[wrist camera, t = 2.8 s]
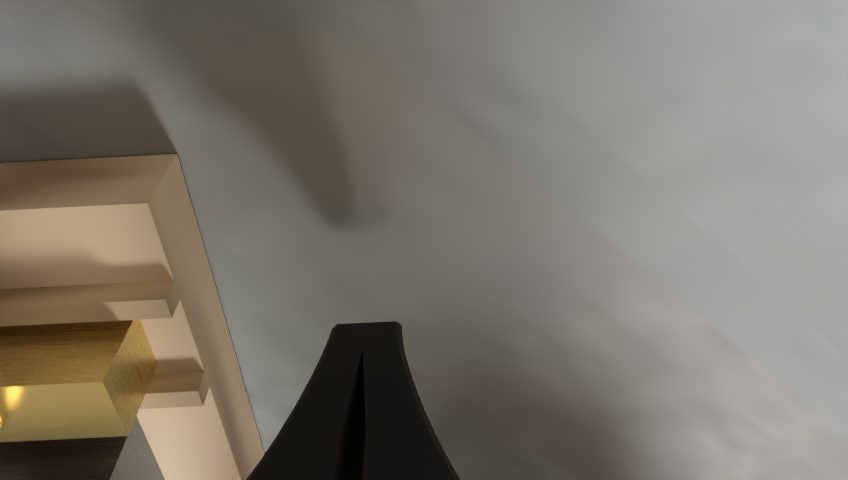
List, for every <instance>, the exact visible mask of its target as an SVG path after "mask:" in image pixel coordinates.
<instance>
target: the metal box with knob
mask: <svg viewBox="0 0 848 480" xmlns="http://www.w3.org/2000/svg"><path fill="white" fill-rule="evenodd" d="M0 480H165V478H164V476H163V474H162V472H161V469H160V467H159V465H158V463H157V461H156V458H155V456H154V454H153V452H152V449H151V447H150V445H149V443H148V440H147V438H146V436H145V434H144V432H143V429H142V427H141V425H140V423H139V420H138V418H137V416H136V418H135V421H134V423H133V425H132V428H131V430H130V433H129V435H128V436H118V437H98V438H78V439H57V440H37V441H17V442H0Z"/></svg>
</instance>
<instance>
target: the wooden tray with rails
mask: <svg viewBox="0 0 848 480" xmlns="http://www.w3.org/2000/svg"><path fill="white" fill-rule="evenodd" d="M121 320H141V323H142V325H143V328H144V330H145V333H146V335H147V338H148V340H149V343H150V346H151V348H152V351H153V353H154V356H155V358H156V361H157V363H158V365H157V368H156V370H155V372H154V375H153V377H152V380H151V382H150V384H149V387H148V389H147V392H146V394H145V396H144V399H143V401H142V404H141V406H140V408H139V411H138V413H137V418H138V420H139V423H140V425H141V427H142V429H143V432H144V434H145V436H146V438H147V440H148V443H149V445H150V447H151V449H152V452H153V454H154V456H155V458H156V461H157V463H158V465H159V467H160V469H161V472H162V474H163V476H164V478H165V480H246V479H247V478H248V476H249V475H250V474H251V472H252V471H253V470H254V468H255V467H256V465H257V464H258V463H259V461H260V460H261V459H262V457H263V456H264V454H265V453H264V450H263V446H262V443H261V440H260V436H259V433H258V429H257V426H256V422H255V419H254V416H253V412H252V409H251V405H250V402H249V399H248V395H247V392H246V388H245V385H244V381H243V378H242V375H241V371H240V368H239V364H238V361H237V357H236V354H235V351H234V347H233V344H232V340H231V337H230V333H229V330H228V327H227V323H226V320H225V316H224V313H223V309H222V306H221V303H220V299H219V296H218V292H217V289H216V285H215V282H214V279H213V275H212V272H211V268H210V265H209V261H208V258H207V255H206V251H205V248H204V244H203V241H202V237H201V234H200V231H199V227H198V224H197V220H196V217H195V214H194V210H193V207H192V203H191V200H190V196H189V193H188V190H187V186H186V183H185V179H184V176H183V172H182V169H181V166H180V162H179V159H178V155H177V154H166V155H146V156H127V157H107V158H87V159H67V160H47V161H28V162H8V163H0V326H20V325H40V324H60V323H81V322H101V321H121Z"/></svg>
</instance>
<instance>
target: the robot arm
mask: <svg viewBox="0 0 848 480" xmlns="http://www.w3.org/2000/svg"><path fill="white" fill-rule="evenodd" d="M246 480H460V479H459V477H458V475H457V474H456V472H455V470H454V468H453V467H452V465H451V463H450V461H449V459H448V458H447V456H446V454H445V452H444V450H443V448H442V446H441V444H440V442H439V440H438V438H437V436H436V434H435V432H434V430H433V428H432V426H431V424H430V421H429V419H428V417H427V415H426V412H425V410H424V408H423V405H422V403H421V400H420V398H419V395H418V392H417V390H416V387H415V384H414V382H413V379H412V376H411V373H410V370H409V366H408V363H407V359H406V355H405V351H404V346H403V337H402V326H401V325H400V324H399V323H397V322H396V321H394V322H374V323H354V324H337V325H336V326H335V327H334V328H333V329H332V331H331V334H330V337H329V339H328V342H327V344H326V347H325V349H324V351H323V354H322V356H321V358H320V360H319V362H318V364H317V366H316V368H315V370H314V372H313V374H312V376H311V378H310V380H309V382H308V384H307V386H306V388H305V389H304V391H303V393H302V395H301V397H300V399H299V400H298V402H297V404H296V406H295V407H294V409H293V411H292V412H291V414H290V416H289V417H288V419H287V421H286V422H285V424H284V425H283V427H282V429H281V430H280V432H279V433H278V435H277V437H276V438H275V440H274V441H273V443H272V444H271V446H270V447H269V449H268V450H267V452H266V453H265V454H264V456H263V457H262V459H261V460H260V461H259V463H258V464H257V465H256V467H255V468H254V470H253V471H252V472H251V474H250V475H249V476H248V478H247V479H246Z"/></svg>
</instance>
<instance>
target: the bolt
mask: <svg viewBox="0 0 848 480" xmlns="http://www.w3.org/2000/svg"><path fill="white" fill-rule="evenodd" d="M157 365H158V363H157V361H156V358H155V356H154V353H153V351H152V348H151V346H150V343H149V340H148V338H147V335H146V333H145V330H144V328H143V325H142V323H141V320H121V321H101V322H81V323H60V324H40V325H20V326H0V442H17V441H37V440H57V439H78V438H98V437H118V436H128V435H129V433H130V430H131V428H132V425H133V423H134V421H135V418H136V416H137V413H138V411H139V408H140V406H141V404H142V401H143V399H144V396H145V394H146V392H147V389H148V387H149V384H150V382H151V380H152V377H153V375H154V372H155V370H156V368H157Z"/></svg>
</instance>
